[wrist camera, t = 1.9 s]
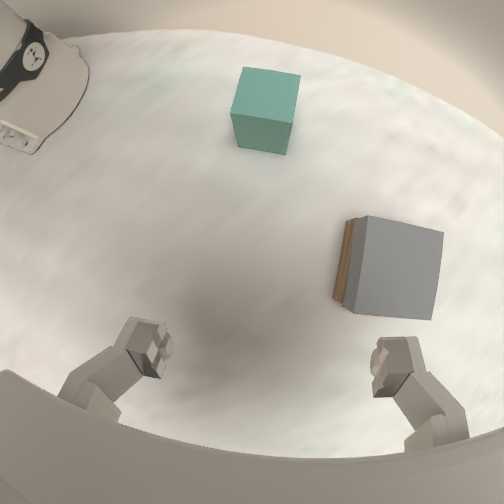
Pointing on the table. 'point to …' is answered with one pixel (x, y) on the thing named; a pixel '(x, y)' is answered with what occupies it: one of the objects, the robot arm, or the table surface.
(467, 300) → the table surface
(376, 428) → the table surface
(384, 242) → the tower top
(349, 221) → the tower base
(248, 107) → the teal block
